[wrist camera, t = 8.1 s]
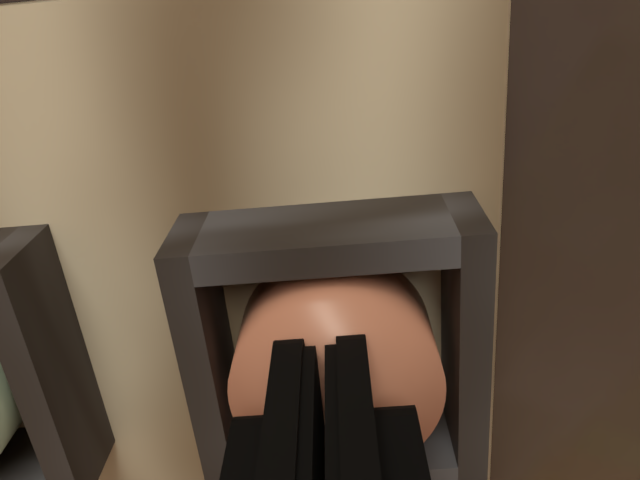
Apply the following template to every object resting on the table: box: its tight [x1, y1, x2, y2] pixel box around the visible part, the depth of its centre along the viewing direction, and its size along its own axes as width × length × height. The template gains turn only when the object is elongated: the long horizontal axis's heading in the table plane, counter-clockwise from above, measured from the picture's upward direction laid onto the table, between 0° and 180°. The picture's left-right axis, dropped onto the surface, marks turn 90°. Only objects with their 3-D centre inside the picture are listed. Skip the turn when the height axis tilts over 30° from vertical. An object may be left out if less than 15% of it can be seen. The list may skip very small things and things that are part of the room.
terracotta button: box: [227, 273, 446, 443], centre depth 12 cm, size 4×4×2 cm
